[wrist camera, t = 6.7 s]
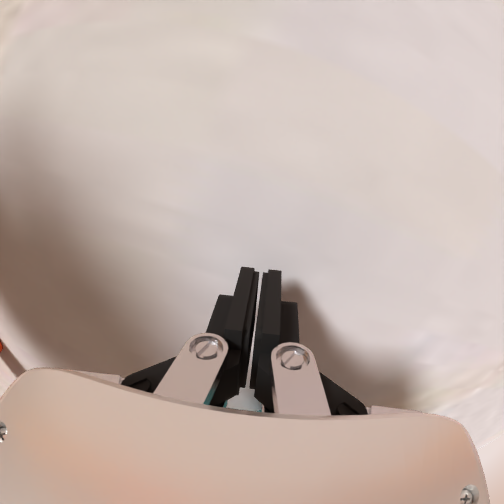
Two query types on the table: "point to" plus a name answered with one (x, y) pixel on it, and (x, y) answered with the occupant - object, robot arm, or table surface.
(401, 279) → the table surface
